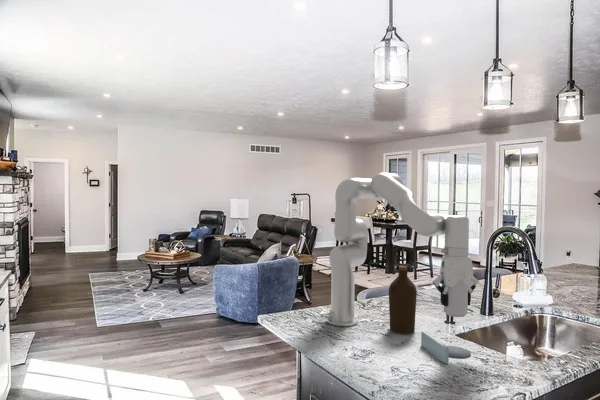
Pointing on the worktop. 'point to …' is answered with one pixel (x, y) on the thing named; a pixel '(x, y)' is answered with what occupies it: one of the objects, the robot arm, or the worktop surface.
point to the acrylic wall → (435, 347)
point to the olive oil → (402, 303)
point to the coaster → (458, 352)
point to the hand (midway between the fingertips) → (455, 304)
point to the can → (457, 300)
